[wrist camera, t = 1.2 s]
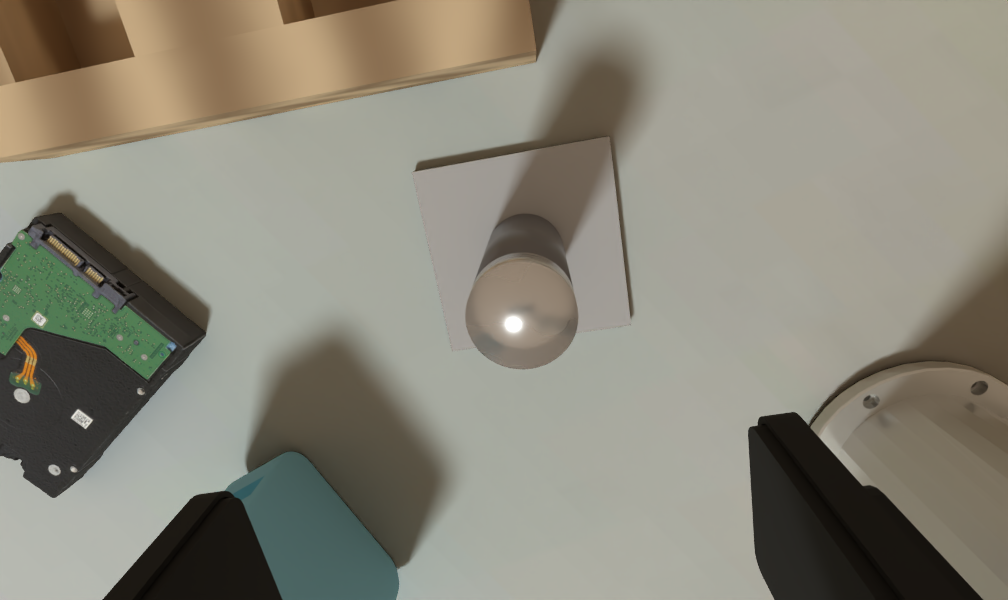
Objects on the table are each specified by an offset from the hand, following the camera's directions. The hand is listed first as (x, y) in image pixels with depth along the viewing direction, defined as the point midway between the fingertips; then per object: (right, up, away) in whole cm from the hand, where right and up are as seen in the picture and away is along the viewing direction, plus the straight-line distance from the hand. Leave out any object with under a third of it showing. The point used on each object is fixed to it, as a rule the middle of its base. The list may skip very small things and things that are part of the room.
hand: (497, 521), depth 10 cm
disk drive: (-26, +1, +24) cm, 35 cm away
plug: (+1, +7, +19) cm, 20 cm away
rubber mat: (+1, +7, +19) cm, 21 cm away
